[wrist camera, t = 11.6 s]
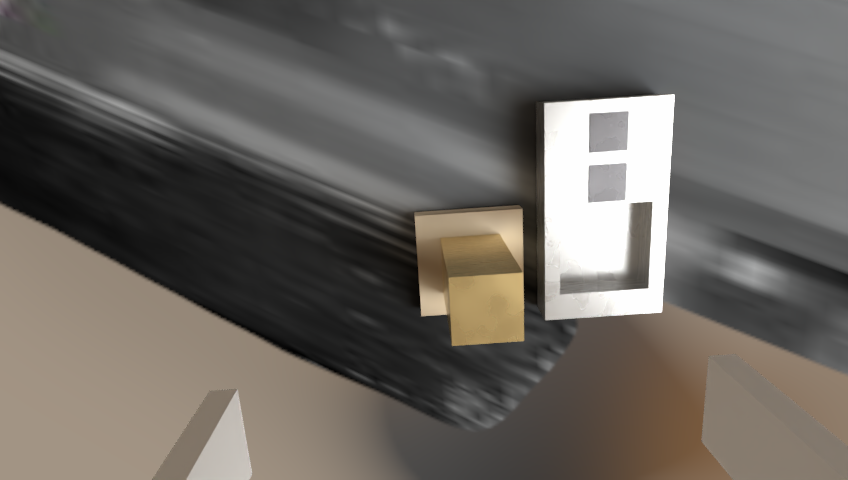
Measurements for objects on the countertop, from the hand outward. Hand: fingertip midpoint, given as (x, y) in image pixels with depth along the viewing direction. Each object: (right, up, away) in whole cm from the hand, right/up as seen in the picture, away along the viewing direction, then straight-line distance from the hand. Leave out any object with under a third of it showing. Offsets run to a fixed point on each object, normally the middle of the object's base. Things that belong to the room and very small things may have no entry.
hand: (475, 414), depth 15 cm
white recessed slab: (+13, +8, +32) cm, 36 cm away
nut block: (+3, +3, +32) cm, 32 cm away
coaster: (+2, +3, +33) cm, 33 cm away
